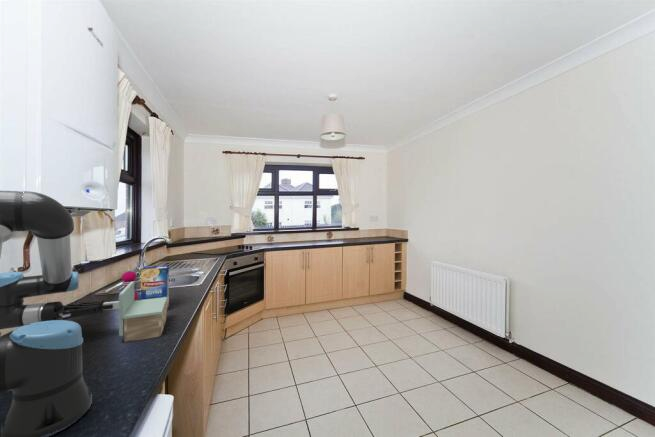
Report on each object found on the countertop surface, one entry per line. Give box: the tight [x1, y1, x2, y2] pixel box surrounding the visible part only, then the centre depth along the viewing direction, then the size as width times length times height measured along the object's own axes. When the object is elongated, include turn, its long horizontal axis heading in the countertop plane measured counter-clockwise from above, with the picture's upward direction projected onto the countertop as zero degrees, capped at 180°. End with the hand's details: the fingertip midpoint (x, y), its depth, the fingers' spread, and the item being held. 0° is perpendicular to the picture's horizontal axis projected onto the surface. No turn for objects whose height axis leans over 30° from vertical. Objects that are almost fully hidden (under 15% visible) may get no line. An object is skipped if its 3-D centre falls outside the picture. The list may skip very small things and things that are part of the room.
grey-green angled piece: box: [118, 281, 167, 337], centre depth 110 cm, size 19×14×16 cm
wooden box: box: [123, 303, 167, 343], centre depth 110 cm, size 18×12×9 cm, turn 26°
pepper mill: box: [121, 268, 139, 301], centre depth 134 cm, size 7×7×20 cm
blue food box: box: [140, 264, 170, 312], centre depth 131 cm, size 7×11×22 cm, turn 115°
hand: (123, 304), depth 106 cm, fingers closed
